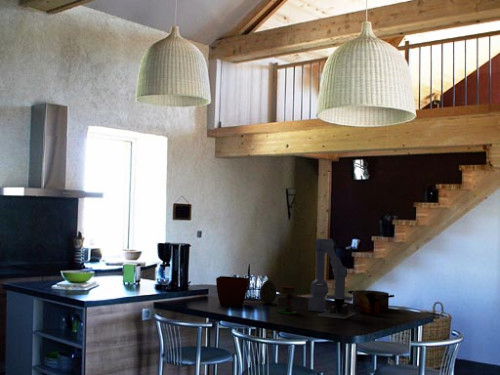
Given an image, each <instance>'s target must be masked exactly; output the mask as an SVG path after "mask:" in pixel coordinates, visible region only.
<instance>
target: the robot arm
mask: <svg viewBox="0 0 500 375" xmlns="http://www.w3.org/2000/svg"><path fill="white" fill-rule="evenodd" d="M334 247H335V242H334V240H333V238H317V239H316V240H315V241H314V252H315V253H316V256H315V257H316V258H315V262H316V263H315V279H314V280H313V281H312V282H311V284H310V288H309V290H310V291H309V292H310V294H311V295H309V297H308V309H307V311H312V312H319V313H322V312H325V311H327V309H326V308H325V307H326V306H325V305H326V304H325V302H326V299H328V300H329V299H330V300H333V302H334V305H335V307H336V309H337V313H340V312H341V308H342V306H343V305H344V304H345V302H346V301H350V302H353V296H352V297H351V296H346V294H345V293H346V290H345V288H346V278H347V276H348V269H347V267H346V266H344V265H343V263H342V262H341V261H342V260H341V259H340V258H339V256H337V255H336V251H335V248H334ZM326 253H327V255H328V257H329V259H330V260H329V263H330V266H331V267H332V269H333V272H332V273H333V280H334V294H333V295H332V294H328V293H329V286H328V282H327V281H326V280H325V259H326V257H325V256H326Z"/></svg>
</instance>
